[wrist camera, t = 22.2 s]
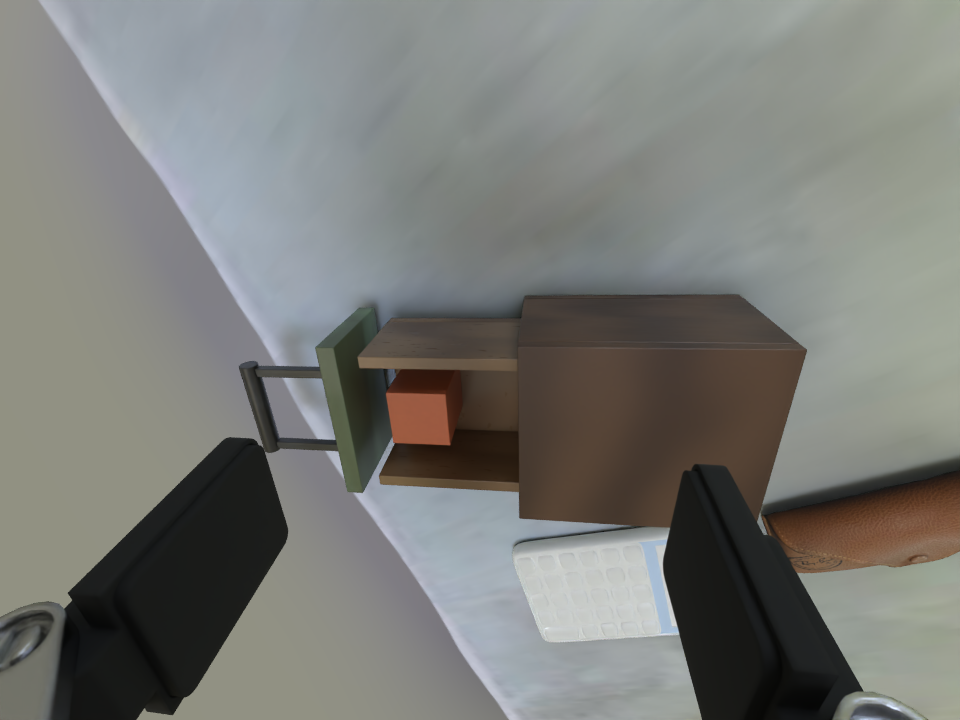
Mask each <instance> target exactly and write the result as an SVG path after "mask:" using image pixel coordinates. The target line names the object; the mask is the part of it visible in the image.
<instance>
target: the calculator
mask: <svg viewBox="0 0 960 720" xmlns="http://www.w3.org/2000/svg"><path fill="white" fill-rule="evenodd" d="M669 530H670V528H663V527H642V528H633V529H625V530H617V531H609V532H600V533H592V534H584V535H576V536H567V537H559V538H551V539H543V540H535V541H528V542H523V543H519V544H517V545H516V546H515V547H514V550H513V553H512V557H513V563H514V566H515V569H516V572H517V574H518V577H519V580H520V582H521V585H522V587H523V590H524V593H525V595H526V598H527V600H528V603H529V605H530V608H531V611H532V613H533V616H534V618H535V621H536V624H537V626H538V629H539V631H540V634H541V636H542V637H543V639H545V640H546V641H548V642H574V641H589V640H605V639H620V638H636V637H651V636H667V635H679V631H678V627H677V623H676V620H675V616H674V612H673V608H672V605H671V601H670V597H669V594H668V590H667V586H666V582H665V579H664V574H663V557H664V552H665V548H666V544H667V539H668V535H669Z"/></svg>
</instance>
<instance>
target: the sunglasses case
mask: <svg viewBox="0 0 960 720" xmlns="http://www.w3.org/2000/svg"><path fill="white" fill-rule="evenodd" d="M762 520H763V523H764V526H765V528H766V531H767V534H768V535H769V536H772V537H774V538H775V539H776V540H777V541H778V542H779V544H780V545H781V547H782V548H783V550H784V552H785V554H786V555H787V557H788V559H789V561H790V562H791V564H792V566H793V568H794V569H795V571H796V572H798V573H817V572H828V571H839V570H848V569H855V568H863V567H870V566H876V565H886V566H889V567H902V566H907V565H911V564H917V563H924V562H930V561H935V560H939V559H943V558H945V557H949V556H951V555H953V554H955V553H957V552H959V551H960V470H959V471H954V472H948V473H945V474H942V475H939V476H936V477H933V478H930V479H927V480H922V481H915V482H911V483H907V484H902V485H897V486H892V487H888V488H884V489H880V490H876V491H872V492H869V493H865V494H861V495H856V496H849V497H845V498H840V499H836V500H832V501H827V502H823V503H819V504H815V505H810V506H805V507H800V508H795V509H791V510H787V511H782V512H776V513H772V514H770V515H762Z"/></svg>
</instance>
